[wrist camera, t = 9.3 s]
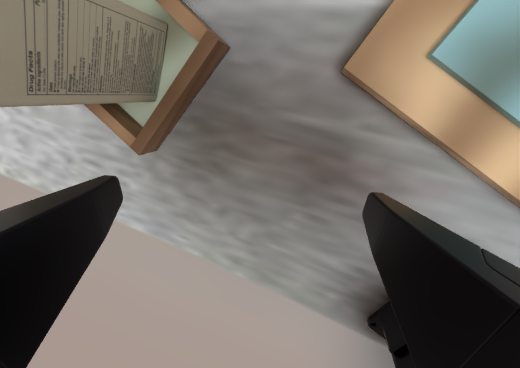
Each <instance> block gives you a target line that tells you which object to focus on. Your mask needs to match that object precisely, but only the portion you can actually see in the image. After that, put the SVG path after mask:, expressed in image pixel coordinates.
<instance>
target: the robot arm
mask: <svg viewBox="0 0 520 368" xmlns="http://www.w3.org/2000/svg"><path fill="white" fill-rule="evenodd" d="M122 201H123V195H122V191H121V187H120V183H119V180H118V178H117V177H116V176H107V175H104V176H101V177H98V178H95V179H92V180H89V181H86V182H83V183H80V184H77V185H74V186H72V187H69V188H66V189H63V190H60V191H57V192H54V193H51V194H48V195H45V196H42V197H40V198H37V199H34V200H31V201H28V202H25V203H22V204H19V205H16V206H13V207H11V208H8V209H5V210H2V211H0V368H26V367H27V365H28V364H29V362H30V361H31V359H32V357H33V356H34V354H35V352H36V351H37V349H38V347H39V346H40V344H41V342H42V341H43V339H44V338H45V336H46V334H47V333H48V331H49V329H50V328H51V326H52V325H53V323H54V321H55V320H56V318H57V316H58V315H59V313H60V311H61V310H62V308H63V306H64V305H65V303H66V302H67V300H68V298H69V296H70V295H71V293H72V292H73V290H74V289H75V287H76V285H77V284H78V282H79V280H80V279H81V277H82V275H83V274H84V272H85V271H86V269H87V267H88V266H89V264H90V262H91V261H92V259H93V257H94V256H95V254H96V253H97V251H98V249H99V248H100V246H101V244H102V243H103V241H104V239H105V238H106V236H107V234H108V232H109V230H110V227H111V225H112V223H113V221H114V219H115V217H116V214H117V212H118V210H119V208H120V206H121V204H122ZM363 220H364V224H365V228H366V232H367V236H368V240H369V244H370V248H371V251H372V255H373V257H374V260H375V263H376V265H377V268H378V271H379V273H380V276H381V278H382V281H383V284H384V286H385V289H386V292H387V294H388V297H389V299H390V301H389V302H388V303H387V304H386V305H384V306H383V307H382V308H380V309H379V310H378V311H377V312H375V313H374V314H373V315H372V316H370V317H369V318H368V319H367V323H368V326H369V327H370V328H371V329H372V330H374V331H375V332H376V333H378V334H379V335H380V336H382V337H383V338H384V339H386V341H387V345H388V348H389V351H390V352H391V354H392V357H393V361H394V364H395V367H396V368H520V268H518V267H516V266H514V265H512V264H511V263H509V262H507V261H505V260H503V259H501V258H499V257H498V256H496V255H494V254H492V253H490V252H488V251H487V250H485V249H481V248H480V247H479V246H477V245H476V244H474V243H472V242H470V241H468V240H467V239H465V238H463V237H461V236H459V235H458V234H456V233H454V232H452V231H450V230H448V229H447V228H445V227H443V226H441V225H439V224H438V223H436V222H434V221H432V220H430V219H428V218H427V217H425V216H423V215H421V214H419V213H418V212H416V211H414V210H412V209H410V208H409V207H407V206H405V205H403V204H401V203H399V202H398V201H396V200H394V199H392V198H390V197H389V196H387V195H385V194H383V193H376V192H371V193H370V194H369V195H368V197H367V200H366V203H365V206H364V209H363ZM372 322H375V323H372Z"/></svg>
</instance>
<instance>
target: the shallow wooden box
mask: <svg viewBox="0 0 520 368" xmlns="http://www.w3.org/2000/svg"><path fill="white" fill-rule="evenodd" d="M341 73H342V74H344V75H345V76H346V77H348V78H349V79H350V80H352V81H353V82H354V83H356V84H357V85H358V86H360V87H361V88H362V89H364V90H365V91H366V92H368V93H369V94H370V95H371V96H373V97H374V98H375V99H377V100H378V101H379V102H381V103H382V104H383V105H385V106H386V107H387V108H389V109H390V110H391V111H393V112H394V113H395V114H397V115H398V116H399V117H401V118H402V119H403V120H404V121H406V122H407V123H408V124H410V125H411V126H412V127H414V128H415V129H416V130H418V131H419V132H420V133H422V134H423V135H424V136H426V137H427V138H428V139H430V140H431V141H432V142H434V143H435V144H436V145H438V146H439V147H440V148H441V149H443V150H444V151H445V152H447V153H448V154H449V155H451V156H452V157H453V158H455V159H456V160H457V161H459V162H460V163H461V164H463V165H464V166H465V167H467V168H468V169H469V170H471V171H472V172H473V173H474V174H476V175H477V176H478V177H480V178H481V179H482V180H484V181H485V182H486V183H488V184H489V185H490V186H492V187H493V188H494V189H496V190H497V191H498V192H500V193H501V194H502V195H504V196H505V197H506V198H507V199H509V200H510V201H511V202H513V203H514V204H515V205H517V206H518V207H519V208H520V0H394V1H393V3H392V4H391V5H390V7H389V8H388V9H387V11H386V12H385V13H384V15H383V16H382V17H381V19H380V20H379V21H378V23H377V24H376V25H375V27H374V28H373V29H372V31H371V32H370V33H369V35H368V36H367V37H366V39H365V40H364V41H363V43H362V44H361V45H360V47H359V48H358V49H357V51H356V52H355V53H354V55H353V56H352V57H351V59H350V60H349V61H348V63H347V64H346V65H345V67H344V68H343V69H342V71H341Z"/></svg>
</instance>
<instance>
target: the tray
mask: <svg viewBox="0 0 520 368" xmlns="http://www.w3.org/2000/svg"><path fill="white" fill-rule="evenodd" d="M120 1H122V2H124V3H126V4H128V5H130V6H132V7H134V8H136V9H138V10H140V11H142V12H145V13H147V14H149V15H151V16H153V17H155V18H157V19H159V20H161V21H163V22H165V23H166V24H167V31H166V38H165V46H164V54H163V61H162V67H161V74H160V80H159V86H158V92H157V97H156V101H155V102H135V103H105V104H84V105H85V106H86V107H87V108H88V109H89V110H90V111H92V112H93V113H94V114H95V115H96V116H97V117H98V118H99V119H100V120H101V121H102V122H103V123H104V124H106V125H107V126H108V127H109V128H110V129H111V130H112V131H113V132H114V133H115V134H116V135H117V136H119V137H120V138H121V139H122V140H123V141H124V142H125V143H126V144H127V145H128V146H129V147H130V148H132V149H133V150H134V151H135V152H136V153H137V154H138V155H142V154H146V153H149V152H153V151H156V150H157V149H158V148H159V147H160V145H161V144H162V142H163V141H164V140H165V138H166V137H167V135H168V134H169V133H170V131H171V130H172V128H173V127H174V126H175V124H176V123H177V121H178V120H179V119H180V117H181V116H182V114H183V113H184V112H185V110H186V109H187V108H188V106H189V105H190V103H191V102H192V101H193V99H194V98H195V96H196V95H197V94H198V92H199V91H200V89H201V88H202V87H203V85H204V84H205V82H206V81H207V80H208V78H209V77H210V75H211V74H212V73H213V71H214V70H215V68H216V67H217V66H218V64H219V63H220V61H221V60H222V59H223V57H224V56H225V54H226V53H227V52H228V50H229V49H230V47H229V46H228V45H227V44H226V43H225V42H224V41H223V40H222V39H221V38H220V37H219V36H217V35H216V34H215V33H214V32H213V31H212V30H211V29H210V28H209V27H208V26H207V25H206V24H205V23H204V22H203V21H202V20H201V19H200V18H199V17H198V16H197V15H196V14H195V13H194V12H193V11H192V10H191V9H190V8H189V7H188V6H187V5H186V4H185V3H184V2H183V1H182V0H120Z"/></svg>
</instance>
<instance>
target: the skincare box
mask: <svg viewBox="0 0 520 368" xmlns="http://www.w3.org/2000/svg"><path fill="white" fill-rule="evenodd" d="M166 31H167V24H166V23H165V22H163V21H161V20H159V19H157V18H155V17H153V16H151V15H149V14H147V13H145V12H142V11H140V10H138V9H136V8H134V7H132V6H130V5H128V4H126V3H124V2H122V1H120V0H0V107H18V106H47V105H72V104H105V103H135V102H155V101H156V97H157V92H158V86H159V80H160V74H161V67H162V61H163V54H164V46H165V38H166Z"/></svg>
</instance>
